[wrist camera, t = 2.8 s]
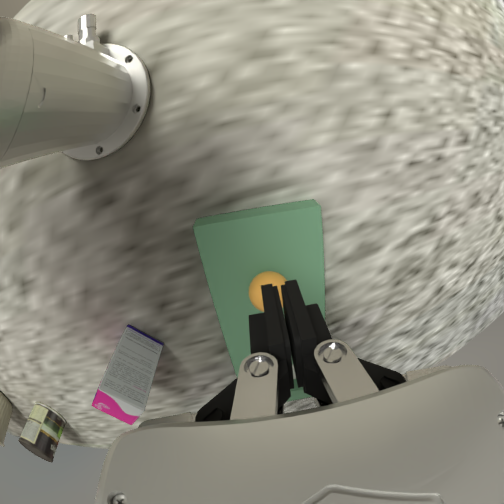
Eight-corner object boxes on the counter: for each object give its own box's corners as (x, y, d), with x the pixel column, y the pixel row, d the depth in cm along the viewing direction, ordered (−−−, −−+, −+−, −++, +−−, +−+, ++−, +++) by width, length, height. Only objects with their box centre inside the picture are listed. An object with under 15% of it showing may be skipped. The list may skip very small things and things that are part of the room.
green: (196, 218, 27) (192, 227, 25) (313, 199, 27) (320, 206, 25) (246, 395, 40) (247, 407, 38) (319, 382, 40) (322, 394, 37)
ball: (244, 267, 27) (246, 289, 23) (284, 260, 27) (292, 281, 23) (251, 299, 29) (253, 324, 25) (288, 293, 29) (295, 317, 25)
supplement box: (126, 322, 32) (98, 388, 22) (165, 342, 34) (147, 412, 24) (115, 345, 34) (90, 407, 24) (150, 363, 36) (134, 427, 26)
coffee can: (66, 416, 46) (51, 458, 33) (65, 427, 49) (53, 465, 37) (33, 396, 43) (15, 436, 30) (36, 409, 47) (20, 445, 34)
